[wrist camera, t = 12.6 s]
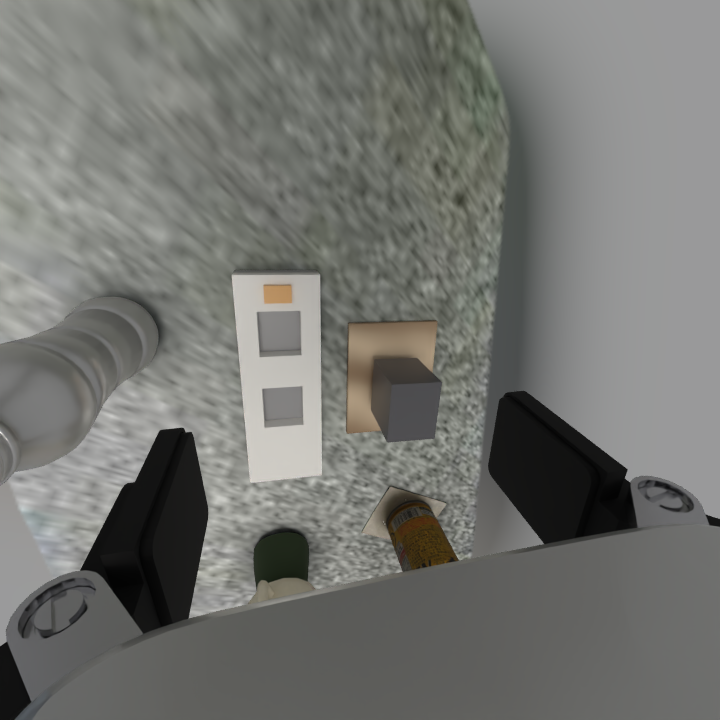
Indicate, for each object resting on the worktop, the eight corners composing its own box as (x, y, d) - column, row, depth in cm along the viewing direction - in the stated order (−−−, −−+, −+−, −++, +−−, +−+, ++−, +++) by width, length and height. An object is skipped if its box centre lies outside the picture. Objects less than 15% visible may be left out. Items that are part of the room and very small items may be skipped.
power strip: (235, 270, 33) (230, 276, 29) (316, 270, 34) (321, 275, 31) (251, 464, 40) (250, 486, 36) (318, 457, 41) (322, 478, 38)
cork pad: (348, 322, 36) (349, 324, 36) (435, 320, 38) (437, 321, 38) (346, 431, 41) (347, 433, 40) (425, 424, 42) (426, 426, 42)
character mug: (232, 527, 42) (215, 651, 30) (292, 502, 42) (300, 614, 31) (270, 588, 46) (270, 717, 34) (325, 565, 47) (343, 684, 35)
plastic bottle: (76, 357, 32) (-176, 541, 14) (85, 280, 30) (-196, 378, 12) (158, 372, 34) (30, 552, 16) (171, 301, 32) (40, 413, 14)
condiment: (417, 545, 49) (458, 640, 38) (361, 531, 46) (388, 629, 35) (445, 502, 47) (497, 588, 37) (389, 484, 45) (427, 572, 34)
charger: (371, 354, 38) (391, 384, 31) (412, 353, 38) (441, 382, 32) (368, 404, 39) (387, 442, 33) (408, 402, 40) (434, 438, 34)
